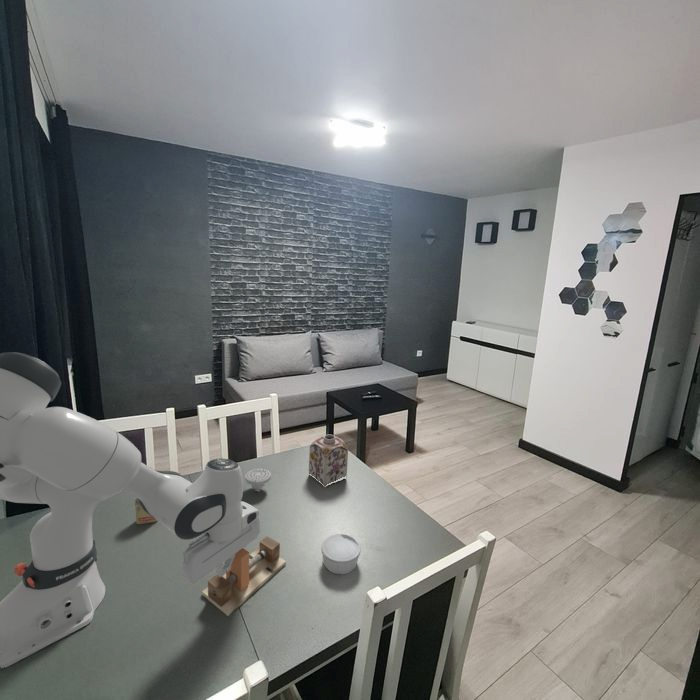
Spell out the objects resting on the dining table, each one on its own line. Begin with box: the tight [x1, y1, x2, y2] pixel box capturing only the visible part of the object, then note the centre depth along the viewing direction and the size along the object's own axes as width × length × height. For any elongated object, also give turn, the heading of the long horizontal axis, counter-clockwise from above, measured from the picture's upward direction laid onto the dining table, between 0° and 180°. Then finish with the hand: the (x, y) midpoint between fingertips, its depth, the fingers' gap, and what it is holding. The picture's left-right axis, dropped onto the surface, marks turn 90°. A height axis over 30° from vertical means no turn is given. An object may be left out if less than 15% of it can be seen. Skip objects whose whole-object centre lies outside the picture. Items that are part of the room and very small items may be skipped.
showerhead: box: [244, 468, 272, 493], centre depth 136 cm, size 9×7×10 cm
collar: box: [226, 548, 250, 591], centre depth 94 cm, size 2×6×10 cm, turn 57°
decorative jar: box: [308, 434, 349, 486], centre depth 147 cm, size 12×12×18 cm
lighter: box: [134, 497, 159, 525], centre depth 116 cm, size 7×4×10 cm, turn 109°
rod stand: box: [201, 535, 287, 617], centre depth 97 cm, size 20×10×6 cm, turn 147°
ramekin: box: [321, 533, 362, 575], centre depth 104 cm, size 11×11×5 cm
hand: (224, 572), depth 90 cm, fingers closed
